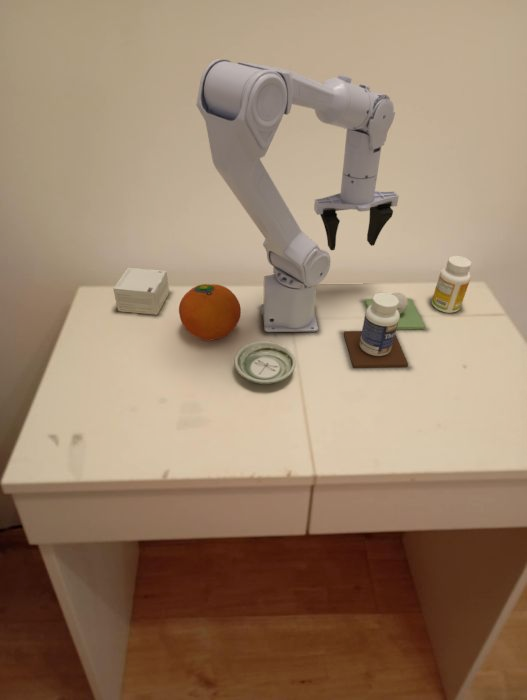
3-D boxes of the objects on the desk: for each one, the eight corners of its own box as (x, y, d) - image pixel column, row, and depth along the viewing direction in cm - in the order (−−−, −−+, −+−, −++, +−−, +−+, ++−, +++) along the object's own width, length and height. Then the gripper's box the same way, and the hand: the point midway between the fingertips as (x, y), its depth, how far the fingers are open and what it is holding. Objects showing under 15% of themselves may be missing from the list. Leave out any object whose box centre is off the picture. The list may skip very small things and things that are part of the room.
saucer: (226, 385, 73) (226, 374, 71) (244, 347, 80) (244, 336, 78) (287, 398, 71) (288, 386, 69) (300, 358, 78) (301, 346, 77)
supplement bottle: (456, 298, 93) (471, 254, 87) (462, 314, 89) (479, 269, 83) (429, 296, 93) (442, 252, 87) (433, 312, 89) (447, 267, 83)
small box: (131, 289, 93) (127, 266, 90) (170, 292, 92) (167, 269, 89) (117, 311, 87) (111, 288, 84) (158, 315, 86) (154, 292, 83)
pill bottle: (384, 361, 77) (396, 313, 71) (354, 349, 79) (363, 301, 73) (395, 344, 81) (408, 296, 74) (366, 333, 83) (376, 286, 76)
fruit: (249, 341, 81) (249, 302, 76) (190, 355, 78) (186, 316, 73) (229, 308, 89) (227, 271, 84) (175, 319, 86) (170, 281, 80)
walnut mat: (353, 367, 77) (353, 365, 76) (343, 333, 84) (343, 331, 83) (407, 367, 77) (408, 364, 77) (393, 333, 84) (394, 330, 84)
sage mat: (375, 329, 85) (376, 327, 84) (364, 301, 91) (365, 299, 91) (424, 329, 85) (425, 326, 85) (410, 301, 92) (411, 298, 92)
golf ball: (399, 305, 90) (403, 287, 87) (409, 317, 87) (414, 299, 84) (380, 308, 89) (383, 290, 86) (389, 320, 86) (394, 302, 83)
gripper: (324, 185, 74) (319, 260, 83) (411, 177, 76) (396, 251, 85) (312, 169, 79) (308, 241, 88) (393, 161, 81) (381, 233, 90)
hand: (351, 245), depth 87 cm, fingers open, 7 cm apart
